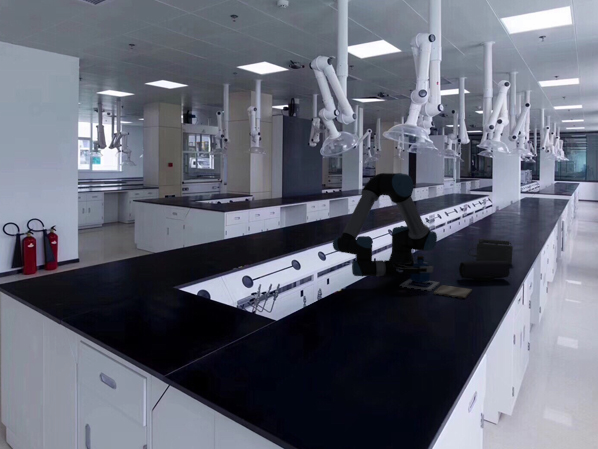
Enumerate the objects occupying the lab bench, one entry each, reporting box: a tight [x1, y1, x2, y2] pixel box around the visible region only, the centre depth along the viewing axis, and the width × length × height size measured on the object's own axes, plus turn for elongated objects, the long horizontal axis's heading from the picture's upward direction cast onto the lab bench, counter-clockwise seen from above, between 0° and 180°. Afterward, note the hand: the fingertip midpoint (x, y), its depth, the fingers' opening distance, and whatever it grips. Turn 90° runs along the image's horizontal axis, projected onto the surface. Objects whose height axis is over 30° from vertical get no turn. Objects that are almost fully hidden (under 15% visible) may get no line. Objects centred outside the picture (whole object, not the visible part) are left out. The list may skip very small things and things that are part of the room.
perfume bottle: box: [410, 255, 430, 283], centre depth 216 cm, size 6×6×12 cm
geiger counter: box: [467, 237, 514, 265], centre depth 267 cm, size 14×6×25 cm
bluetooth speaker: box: [458, 260, 511, 282], centre depth 226 cm, size 23×9×10 cm, turn 92°
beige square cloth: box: [432, 284, 473, 299], centre depth 204 cm, size 14×14×1 cm
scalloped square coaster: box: [399, 277, 441, 292], centre depth 217 cm, size 15×15×1 cm
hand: (429, 267), depth 216 cm, fingers closed on perfume bottle, 8 cm apart
